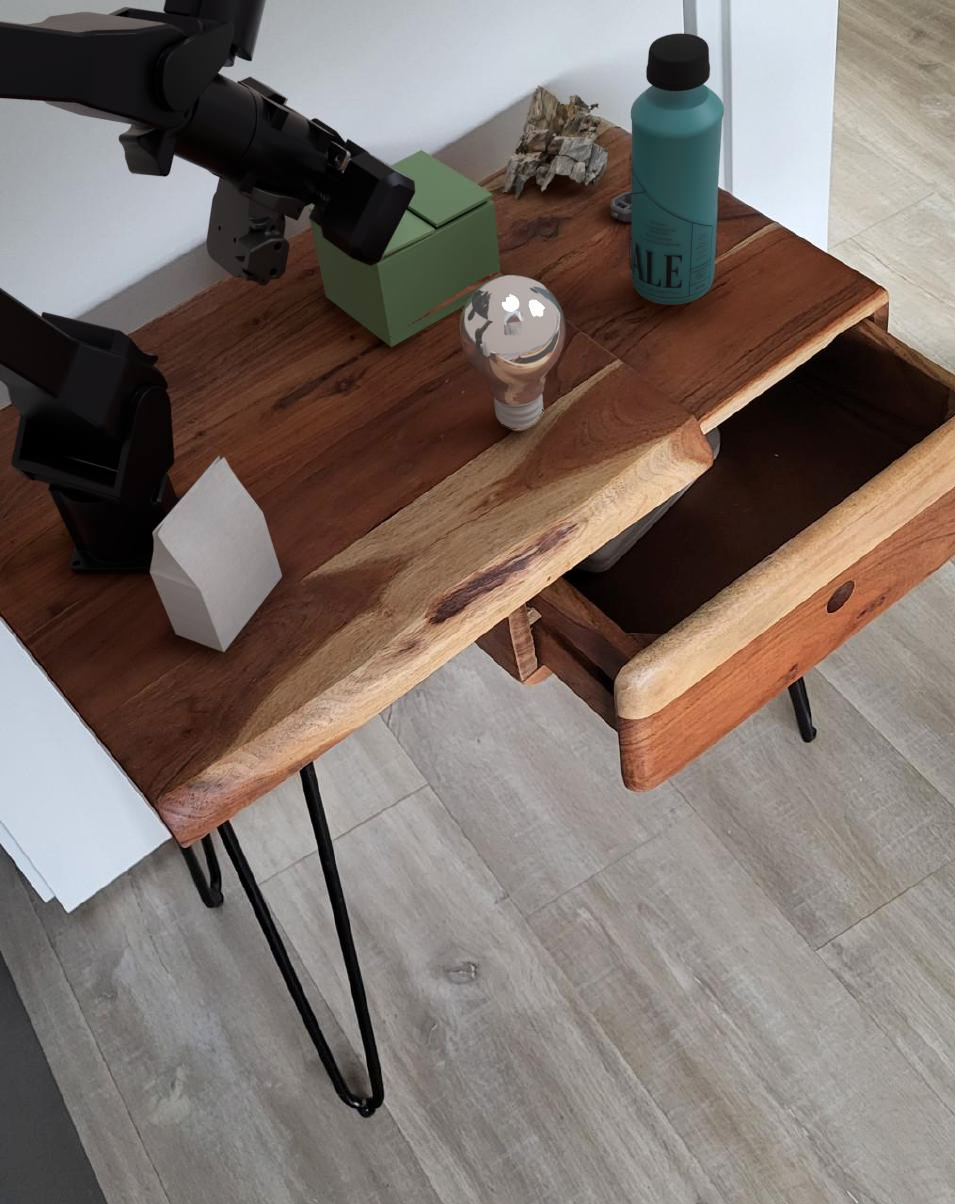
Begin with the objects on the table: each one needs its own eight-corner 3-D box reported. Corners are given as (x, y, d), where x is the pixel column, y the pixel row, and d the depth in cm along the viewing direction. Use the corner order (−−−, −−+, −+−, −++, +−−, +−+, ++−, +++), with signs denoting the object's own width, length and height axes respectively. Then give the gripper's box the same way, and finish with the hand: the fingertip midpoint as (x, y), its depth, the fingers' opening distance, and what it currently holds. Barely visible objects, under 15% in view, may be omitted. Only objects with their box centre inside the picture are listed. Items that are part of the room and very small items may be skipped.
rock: (634, 109, 117) (629, 68, 114) (598, 203, 108) (592, 160, 105) (542, 112, 120) (536, 72, 117) (499, 204, 110) (491, 163, 108)
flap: (376, 260, 93) (376, 256, 93) (308, 211, 98) (308, 207, 98) (435, 232, 96) (435, 228, 95) (366, 185, 100) (365, 182, 100)
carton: (391, 347, 99) (375, 257, 93) (325, 296, 104) (306, 207, 98) (501, 284, 103) (493, 193, 97) (433, 238, 108) (421, 149, 102)
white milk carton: (282, 576, 85) (248, 464, 78) (224, 652, 82) (182, 542, 74) (235, 560, 87) (197, 448, 79) (175, 634, 83) (130, 524, 75)
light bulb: (456, 450, 91) (437, 310, 82) (491, 386, 96) (476, 245, 86) (552, 469, 89) (543, 326, 80) (583, 402, 94) (577, 260, 84)
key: (599, 215, 108) (628, 229, 106) (598, 203, 107) (627, 217, 105) (699, 156, 113) (728, 168, 111) (699, 145, 112) (729, 157, 110)
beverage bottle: (714, 270, 102) (729, 16, 87) (715, 324, 98) (731, 68, 83) (629, 271, 103) (629, 20, 88) (627, 325, 99) (626, 71, 83)
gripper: (107, 187, 92) (271, 252, 105) (249, 304, 82) (412, 361, 94) (174, 35, 89) (335, 121, 101) (330, 138, 79) (488, 219, 91)
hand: (388, 206), depth 97 cm, fingers closed, pressing on flap
